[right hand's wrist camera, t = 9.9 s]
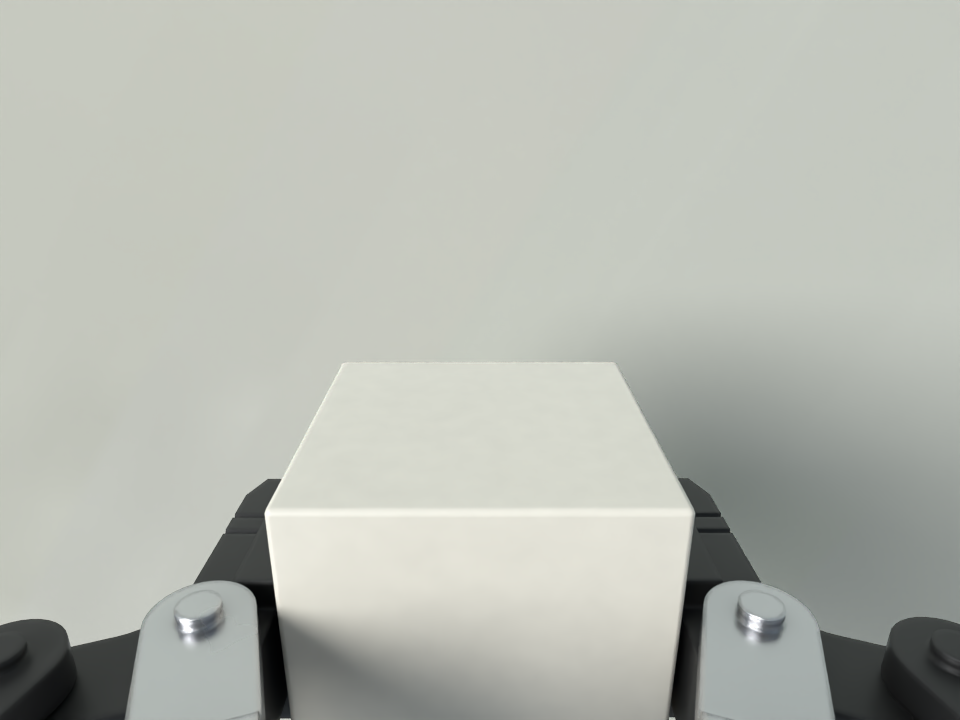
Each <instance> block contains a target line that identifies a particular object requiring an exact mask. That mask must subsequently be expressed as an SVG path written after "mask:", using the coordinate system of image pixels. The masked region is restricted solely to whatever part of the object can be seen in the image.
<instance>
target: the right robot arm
mask: <svg viewBox="0 0 960 720" xmlns="http://www.w3.org/2000/svg"><path fill="white" fill-rule="evenodd" d="M281 480H282V479H267V480H266V481H265V482H263V483H262V484H261V485H259V486H258V487H257V488H255V489H254V490H253V491H251V492H250V493H249V494H247V495H246V497H245V498H244V500H243V502H242V503H241V505H240V507H239V508H238V510H237V512H236V513H235V518H232V520H231V522H230V523H229V525H228V527H227V528H226V533H225V534H223V535H222V537H221V539H220V540H219V542H218V544H217V545H216V547H215V549H214V550H213V552H212V554H211V555H210V557H209V559H208V560H207V562H206V564H205V565H204V567H203V569H202V570H201V572H200V574H199V576H198V577H197V579H196V581H195V582H194V584H193V585H190V586H187V587H184V588H182V589H180V590H177V591H175V592H173V593H172V594H170V595H168V596H166V597H165V598H164V599H162V600H161V601H159V602H158V603H157V604H156V605H155V606H154V607H153V608H152V609H151V610H150V611H149V612H148V614H147V615H146V617H145V618H144V620H143V622H142V626H141V629H140V630H137V631H134V632H131V633H129V634H125V635H121V636H118V637H113V638H109V639H104V640H100V641H95V642H91V643H87V644H82V645H78V646H73V647H71V646H70V643H69V639H68V635H67V633H66V630H65V629H64V628H63V627H62V626H61V625H59V624H58V623H56V622H53V621H50V620H43V619H29V620H20V621H16V622H11V623H7V624H4V625H1V626H0V720H280V718H291V714H290V706H289V698H288V691H287V683H286V675H285V668H284V660H283V652H282V644H281V637H280V629H279V621H278V614H277V606H276V598H275V591H274V583H273V575H272V567H271V560H270V552H269V544H268V537H267V529H266V521H265V511H266V508H267V506H268V504H269V502H270V501H271V499H272V497H273V495H274V493H275V491H276V489H277V487H278V485H279V483H280V482H281ZM678 480H679V482H680V484H681V486H682V487H683V489H684V491H685V493H686V495H687V497H688V499H689V501H690V503H691V505H692V506H693V508H694V511H695V519H694V527H693V535H692V543H691V550H690V558H689V566H688V574H687V581H686V589H685V597H684V605H683V612H682V620H681V628H680V636H679V643H678V651H677V659H676V667H675V674H674V682H673V690H672V697H671V705H670V713H669V717H675V719H676V720H960V624H957V623H954V622H950V621H947V620H942V619H937V618H929V617H914V618H908V619H904V620H901V621H900V622H898V623H896V624H895V625H894V626H893V628H892V629H891V632H890V635H889V639H888V642H887V646H882V645H878V644H873V643H869V642H864V641H860V640H855V639H851V638H846V637H842V636H838V635H834V634H830V633H826V632H824V631H821V630H820V629H819V626H818V622H817V620H816V618H815V617H814V615H813V614H812V612H811V611H810V610H809V609H808V608H807V607H806V606H805V605H804V604H803V603H802V602H801V601H799V600H798V599H796V598H795V597H794V596H792V595H790V594H788V593H787V592H785V591H783V590H780V589H778V588H776V587H773V586H770V585H767V584H763V583H761V581H760V580H759V578H758V576H757V574H756V573H755V571H754V569H753V568H752V566H751V564H750V563H749V561H748V559H747V557H746V556H745V554H744V552H743V551H742V549H741V547H740V545H739V544H738V542H737V540H736V539H735V537H734V535H733V534H732V533H730V528H729V527H728V525H727V523H726V522H725V520H724V518H723V517H721V513H720V511H719V510H718V508H717V506H716V505H715V503H714V501H713V499H712V498H711V496H710V494H708V493H707V492H706V491H704V490H703V489H702V488H700V487H699V486H698V485H696V484H695V483H694V482H692V481H691V480H690V479H688V478H678Z"/></svg>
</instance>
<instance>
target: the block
mask: <svg viewBox="0 0 960 720" xmlns="http://www.w3.org/2000/svg"><path fill="white" fill-rule="evenodd" d="M694 519H695V511H694V508H693V506H692V505H691V503H690V501H689V499H688V497H687V495H686V493H685V491H684V489H683V487H682V486H681V484H680V482H679V480H678V478H677V476H676V474H675V472H674V470H673V469H672V467H671V465H670V463H669V461H668V459H667V457H666V455H665V453H664V452H663V450H662V448H661V446H660V444H659V442H658V440H657V438H656V436H655V435H654V433H653V431H652V429H651V427H650V425H649V423H648V421H647V419H646V418H645V416H644V414H643V412H642V410H641V408H640V406H639V404H638V402H637V401H636V399H635V397H634V395H633V393H632V391H631V389H630V387H629V385H628V384H627V382H626V380H625V378H624V376H623V374H622V372H621V370H620V368H619V367H618V365H617V363H614V362H345V363H343V364H342V366H341V368H340V369H339V371H338V373H337V375H336V377H335V379H334V381H333V383H332V385H331V387H330V388H329V390H328V392H327V394H326V396H325V398H324V400H323V402H322V404H321V406H320V407H319V409H318V411H317V413H316V415H315V417H314V419H313V421H312V423H311V425H310V426H309V428H308V430H307V432H306V434H305V436H304V438H303V440H302V442H301V444H300V445H299V447H298V449H297V451H296V453H295V455H294V457H293V459H292V461H291V463H290V464H289V466H288V468H287V470H286V472H285V474H284V476H283V478H282V480H281V482H280V483H279V485H278V487H277V489H276V491H275V493H274V495H273V497H272V499H271V501H270V502H269V504H268V506H267V508H266V511H265V521H266V529H267V537H268V544H269V552H270V560H271V567H272V575H273V583H274V591H275V598H276V606H277V614H278V621H279V629H280V637H281V644H282V652H283V660H284V668H285V675H286V683H287V691H288V698H289V706H290V714H291V720H669V713H670V705H671V697H672V690H673V682H674V674H675V667H676V659H677V651H678V643H679V636H680V628H681V620H682V612H683V605H684V597H685V589H686V581H687V574H688V566H689V558H690V550H691V543H692V535H693V527H694Z"/></svg>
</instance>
